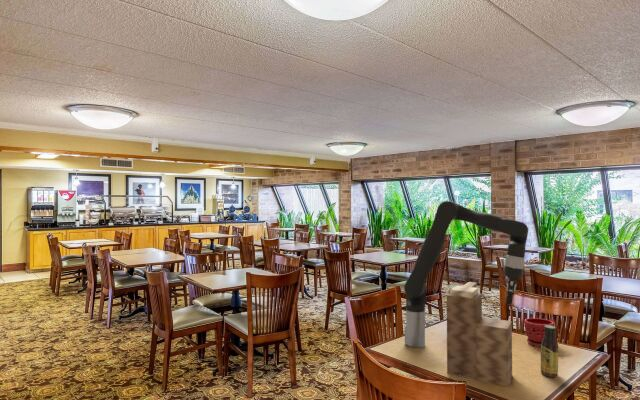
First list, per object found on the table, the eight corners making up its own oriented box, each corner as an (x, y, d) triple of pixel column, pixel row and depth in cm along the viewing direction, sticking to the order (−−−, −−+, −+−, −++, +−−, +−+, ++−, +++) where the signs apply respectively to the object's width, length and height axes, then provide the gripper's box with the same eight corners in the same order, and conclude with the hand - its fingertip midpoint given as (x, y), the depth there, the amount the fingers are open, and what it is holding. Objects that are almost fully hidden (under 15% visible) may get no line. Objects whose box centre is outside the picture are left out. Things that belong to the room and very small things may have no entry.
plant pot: (554, 343, 196) (554, 319, 196) (554, 351, 185) (553, 326, 185) (525, 338, 203) (525, 315, 203) (523, 346, 192) (523, 321, 192)
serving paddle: (450, 295, 161) (449, 289, 161) (462, 286, 179) (462, 281, 179) (472, 298, 156) (472, 292, 156) (483, 288, 174) (483, 283, 174)
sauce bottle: (537, 371, 162) (536, 324, 162) (551, 371, 162) (550, 323, 163) (547, 378, 155) (547, 328, 155) (562, 378, 156) (561, 328, 156)
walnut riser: (447, 372, 161) (446, 295, 161) (454, 363, 171) (454, 290, 171) (508, 386, 148) (507, 302, 149) (512, 375, 158) (511, 296, 159)
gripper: (505, 263, 179) (500, 298, 179) (504, 265, 166) (499, 303, 166) (523, 267, 176) (518, 302, 175) (523, 269, 163) (518, 307, 163)
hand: (508, 302), depth 171 cm, fingers open, 8 cm apart
